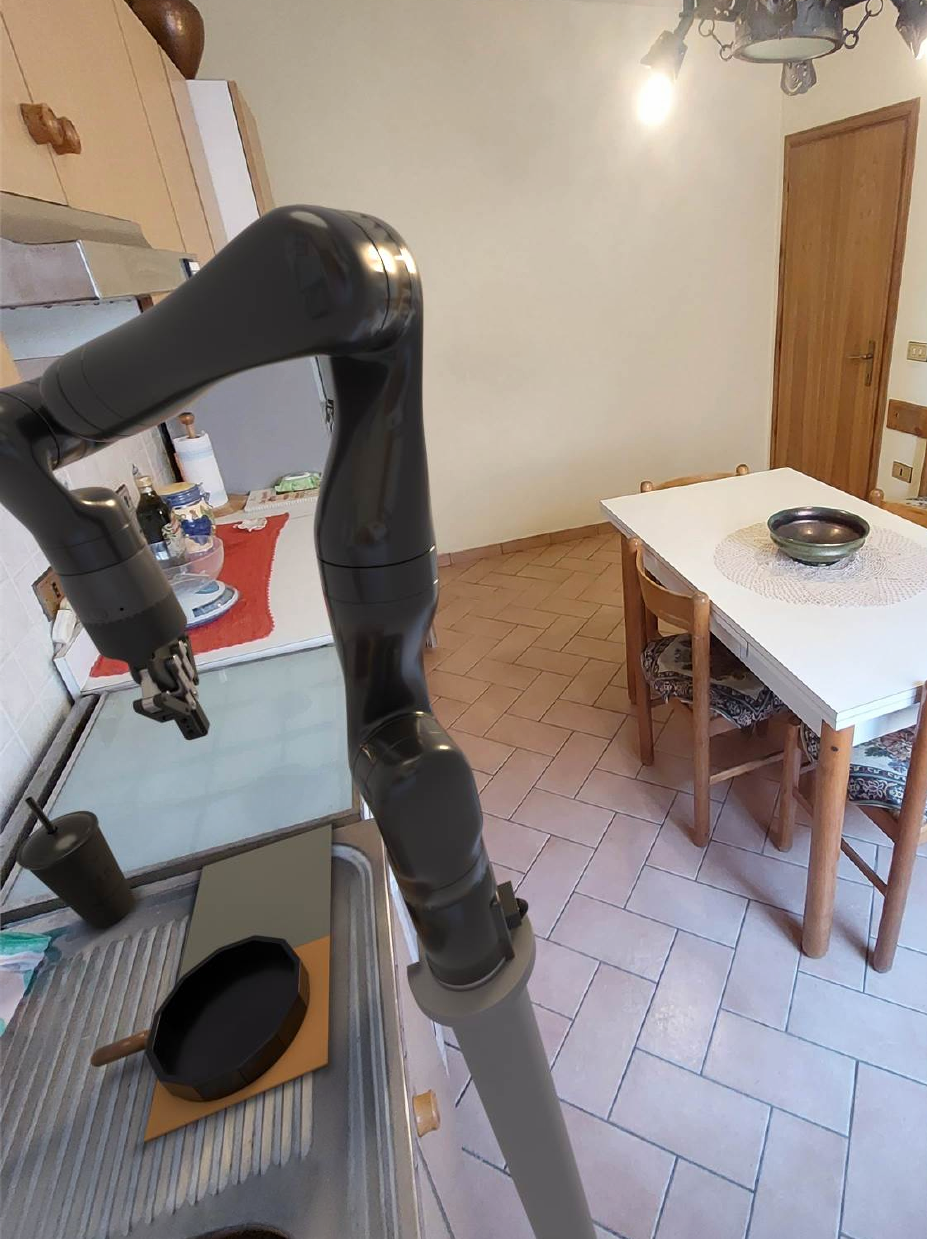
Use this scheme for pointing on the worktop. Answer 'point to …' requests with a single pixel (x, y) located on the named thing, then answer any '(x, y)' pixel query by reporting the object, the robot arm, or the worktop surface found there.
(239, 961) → the skillet
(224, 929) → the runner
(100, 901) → the drinking cup
